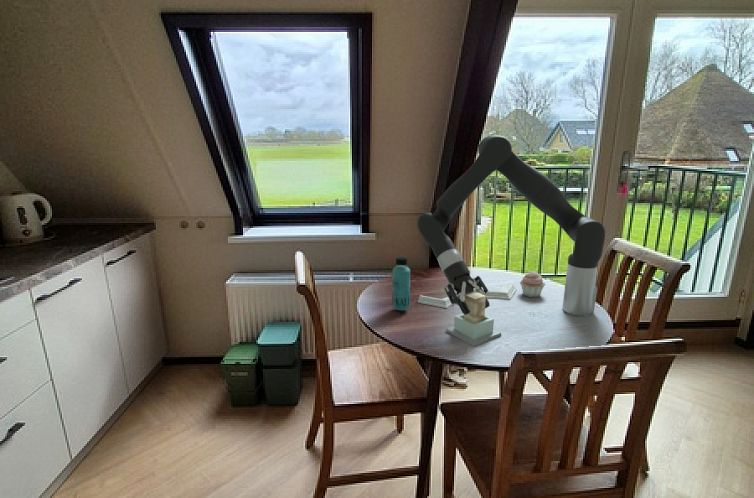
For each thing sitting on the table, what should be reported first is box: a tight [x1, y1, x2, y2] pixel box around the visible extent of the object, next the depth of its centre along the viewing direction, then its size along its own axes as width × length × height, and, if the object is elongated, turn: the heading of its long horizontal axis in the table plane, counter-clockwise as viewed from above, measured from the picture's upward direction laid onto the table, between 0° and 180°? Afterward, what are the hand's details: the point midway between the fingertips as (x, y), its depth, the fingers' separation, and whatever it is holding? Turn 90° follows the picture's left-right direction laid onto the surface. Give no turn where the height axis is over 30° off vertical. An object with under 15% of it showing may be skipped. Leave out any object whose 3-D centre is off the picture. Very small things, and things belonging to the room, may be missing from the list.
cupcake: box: [519, 269, 546, 298], centre depth 159 cm, size 9×9×10 cm
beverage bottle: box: [391, 256, 411, 311], centre depth 145 cm, size 6×7×20 cm
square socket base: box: [445, 312, 502, 347], centre depth 130 cm, size 12×12×6 cm
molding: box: [417, 283, 517, 309], centre depth 158 cm, size 42×12×3 cm, turn 105°
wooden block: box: [463, 292, 486, 324], centre depth 128 cm, size 4×4×12 cm
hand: (477, 310), depth 127 cm, fingers open, 8 cm apart
